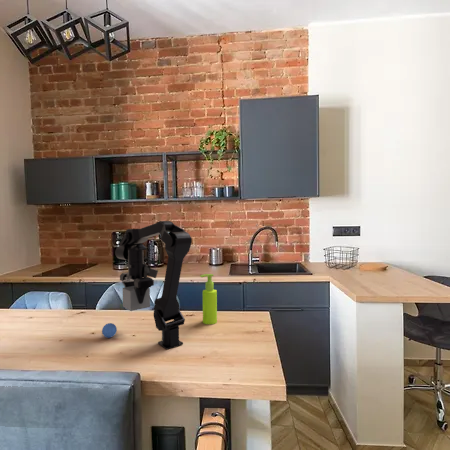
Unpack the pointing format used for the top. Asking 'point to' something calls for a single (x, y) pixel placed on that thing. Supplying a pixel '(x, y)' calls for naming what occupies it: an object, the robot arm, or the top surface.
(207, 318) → the soap dispenser
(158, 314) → the robot arm
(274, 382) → the top surface
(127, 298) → the gray rectangular platform
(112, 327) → the ball
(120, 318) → the top surface
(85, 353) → the top surface
